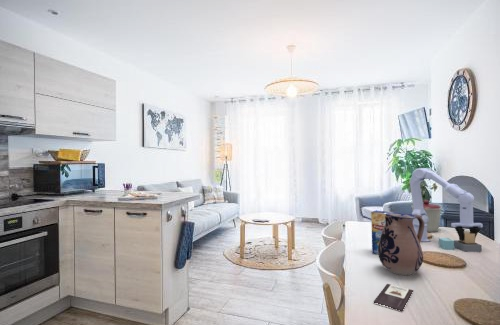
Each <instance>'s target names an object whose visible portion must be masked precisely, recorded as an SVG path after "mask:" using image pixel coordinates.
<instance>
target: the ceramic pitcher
mask: <svg viewBox="0 0 500 325" xmlns="http://www.w3.org/2000/svg"><path fill="white" fill-rule="evenodd" d="M385 215H386V216H385V221H386V223H385V226H384V228H383V230H382V233H381V237H380V241H379V245H378V259H379V261H380V263H381V265H382V266H383V267H384V268H385V269H386V270H387V271H389V272H391V273H392V274H396V275H399V276H410V275H411V274H412V275H413V274H414V273H417V271H419V270H420V269H421V267H422V264H423V262H424V253H423V249H422V246H421V242H422V241H421V239H422V235H423V231H424V221H423V219H422V216H420V215H417V214H412V213H402V212H397V213H386V214H385ZM415 218H417V219H418V221H419V230H418V234H417V235H416V232H415V229H414V226H413V220H414V219H415Z"/></svg>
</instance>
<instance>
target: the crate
mask: <svg viewBox="0 0 500 325" xmlns="http://www.w3.org/2000/svg"><path fill="white" fill-rule="evenodd" d="M453 241H454V248H456V249H457V250H460V251H462V252H464V253H465V252H468V253H469V252H470V253H471V252H473V253H475V252H479V253H481V252H483V250H482V244H480V243H477V242H475V245H467V244H462V243H460V242H459V239H454V240H453Z"/></svg>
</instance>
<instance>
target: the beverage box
mask: <svg viewBox="0 0 500 325" xmlns="http://www.w3.org/2000/svg"><path fill="white" fill-rule="evenodd" d="M386 213H398V212H397V211H396V212H395V211H385V210H374V211H371V213H370V216H371V217H370V218H371V220H370V221H371V222H370V223H371V252H372V255H378V245H379V241H380V237H381V233H382V230H383V228H384V226H385V223H386V221H385V216H386V215H385V214H386Z"/></svg>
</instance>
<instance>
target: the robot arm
mask: <svg viewBox="0 0 500 325" xmlns="http://www.w3.org/2000/svg"><path fill="white" fill-rule="evenodd" d="M424 180H432V181H433V182H435V183H437V184H438V185H440V186H441V187H443V188H444V189H445V192H446V193H447V194H449V195H451V196H452V197H453V198H455V199H456V200H457V202H459V222H451V223H450V226H451V227H452V228H454V230H455V231H456V233H457V236H458V240H459V239H460V240H461V241H463V240H464V231H466V229H465V228H468V229H469V232H472V233H475V239H476V237H477V235H478V233H479V232H480V231H481V228H483V227H484V225H483V223H481V222H474V206H473V205H474V204H473V203H474V201H475V196H474V195H473V194H472V193H471V192H467V190H465V189H462V187H460V186H459V185H458V184H456V183H449V182H448V181H447V180H445V179H444V178H443V177H441V176H440V175H439V174H437V173H436V172H434V171H433V170H432V169H430V168H427V167H424V168H421V167H420V168H419V167H418V168H416V169H414V170H413V171H412V174H411V177H410V179H409V186H410V192H411V193H410V194H411V201H412V205H413V208H414V210H412V212H411V214H417V215H420V216H422V219H423V221H424V231H423V235H422V239H421V242H431V240H429V239H428V232H427V222H428V221H429V218H428V216H427V215H426V211H425V210H424V208H423V201H424V200H423V194H422V190H421V183H423V181H424ZM413 226H414V229H415V232H416V235H417V234H418V230H419V221H418V219H417V218H415V219H414V220H413Z"/></svg>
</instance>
